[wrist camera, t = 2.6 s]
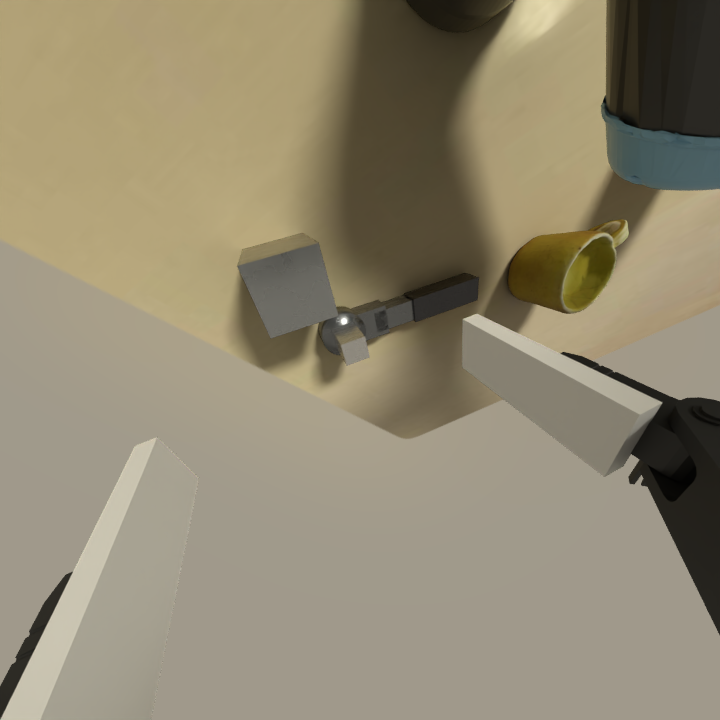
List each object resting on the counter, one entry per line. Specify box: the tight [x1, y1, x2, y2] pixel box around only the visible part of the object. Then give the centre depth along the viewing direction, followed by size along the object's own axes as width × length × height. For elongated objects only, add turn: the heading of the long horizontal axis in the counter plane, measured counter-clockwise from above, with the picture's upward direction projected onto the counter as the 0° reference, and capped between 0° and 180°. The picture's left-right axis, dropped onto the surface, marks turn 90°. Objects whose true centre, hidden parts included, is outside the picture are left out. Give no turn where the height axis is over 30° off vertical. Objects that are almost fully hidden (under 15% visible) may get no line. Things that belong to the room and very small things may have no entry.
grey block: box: [237, 233, 338, 338], centre depth 24 cm, size 6×6×8 cm
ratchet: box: [318, 273, 479, 365], centre depth 31 cm, size 21×5×6 cm, turn 102°
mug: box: [508, 219, 629, 314], centre depth 34 cm, size 12×10×10 cm
